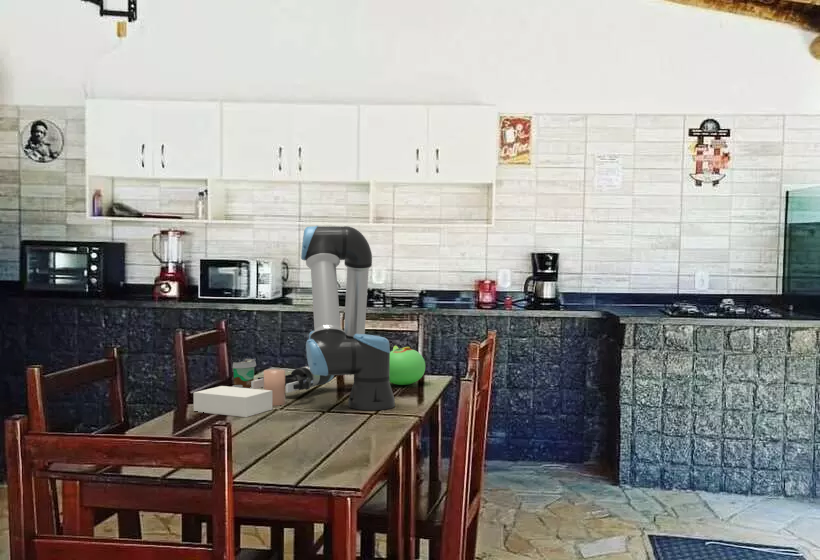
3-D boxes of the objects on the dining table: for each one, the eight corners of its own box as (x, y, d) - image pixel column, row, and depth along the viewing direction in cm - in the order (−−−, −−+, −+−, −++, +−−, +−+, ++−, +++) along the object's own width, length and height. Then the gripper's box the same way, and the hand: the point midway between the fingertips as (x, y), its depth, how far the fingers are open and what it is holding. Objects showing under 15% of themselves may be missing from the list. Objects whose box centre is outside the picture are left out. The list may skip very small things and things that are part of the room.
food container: (248, 390, 299) (248, 363, 298) (232, 390, 300) (232, 362, 299) (261, 385, 311) (261, 358, 310) (246, 384, 312) (246, 358, 312)
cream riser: (272, 409, 264) (272, 390, 264) (246, 417, 251) (245, 397, 251) (221, 404, 273) (221, 385, 272) (193, 411, 260) (193, 392, 260)
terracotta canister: (289, 402, 276) (289, 369, 275) (277, 406, 269) (277, 372, 269) (271, 401, 279) (271, 368, 278) (259, 404, 272) (259, 371, 272)
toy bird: (409, 389, 302) (409, 349, 301) (370, 385, 310) (370, 346, 310) (433, 383, 317) (433, 345, 317) (395, 379, 326) (395, 342, 325)
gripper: (335, 391, 285) (301, 401, 266) (274, 385, 296) (238, 395, 277) (335, 369, 285) (301, 378, 266) (274, 365, 296) (238, 372, 276)
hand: (269, 386), depth 271 cm, fingers open, 13 cm apart
